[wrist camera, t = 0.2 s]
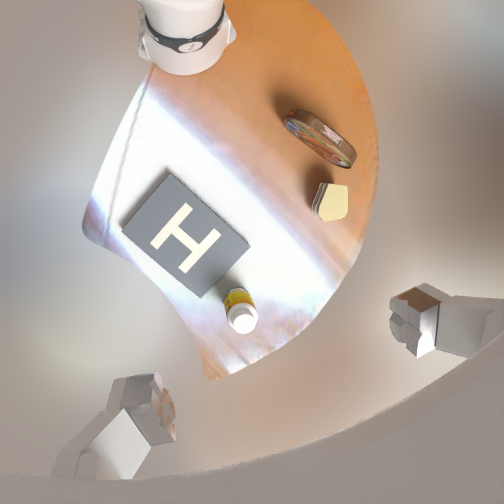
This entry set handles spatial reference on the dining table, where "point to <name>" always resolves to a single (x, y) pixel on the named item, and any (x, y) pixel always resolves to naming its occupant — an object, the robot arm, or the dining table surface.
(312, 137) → the tin
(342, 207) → the pale yellow block
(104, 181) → the dining table surface
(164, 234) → the gray board
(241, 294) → the supplement bottle
